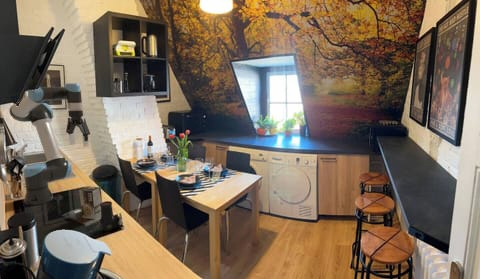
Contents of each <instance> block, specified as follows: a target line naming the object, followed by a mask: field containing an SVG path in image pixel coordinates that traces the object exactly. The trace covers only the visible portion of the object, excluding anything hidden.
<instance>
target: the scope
mask: <svg viewBox="0 0 480 279" xmlns="http://www.w3.org/2000/svg"><path fill="white" fill-rule="evenodd" d="M112 202H113V201H110V200H109V201H108V200H107V201H102V203H101V204H100V207H101V217H100V218H99V219H100V220H99V219H98V220H99V221H98V223H99V224H101V225H103V231H106V232H108V231H111V230H113V229H116V228H121V227H122V226H123V227H124V221H123V216H122V213H121V212H120V213H119V214H118V213H116V214H114V213H113V212H114V210H113V203H112Z"/></svg>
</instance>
